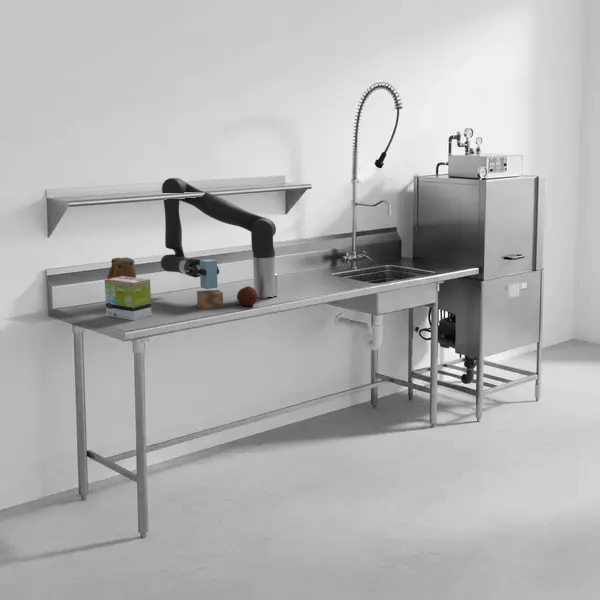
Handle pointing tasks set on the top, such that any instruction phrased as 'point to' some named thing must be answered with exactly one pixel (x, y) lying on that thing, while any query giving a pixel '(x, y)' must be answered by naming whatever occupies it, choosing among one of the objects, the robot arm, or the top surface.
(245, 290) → the potato
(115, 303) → the tea box
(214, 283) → the pillar
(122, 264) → the brown tapered piece
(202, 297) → the brown wooden block
